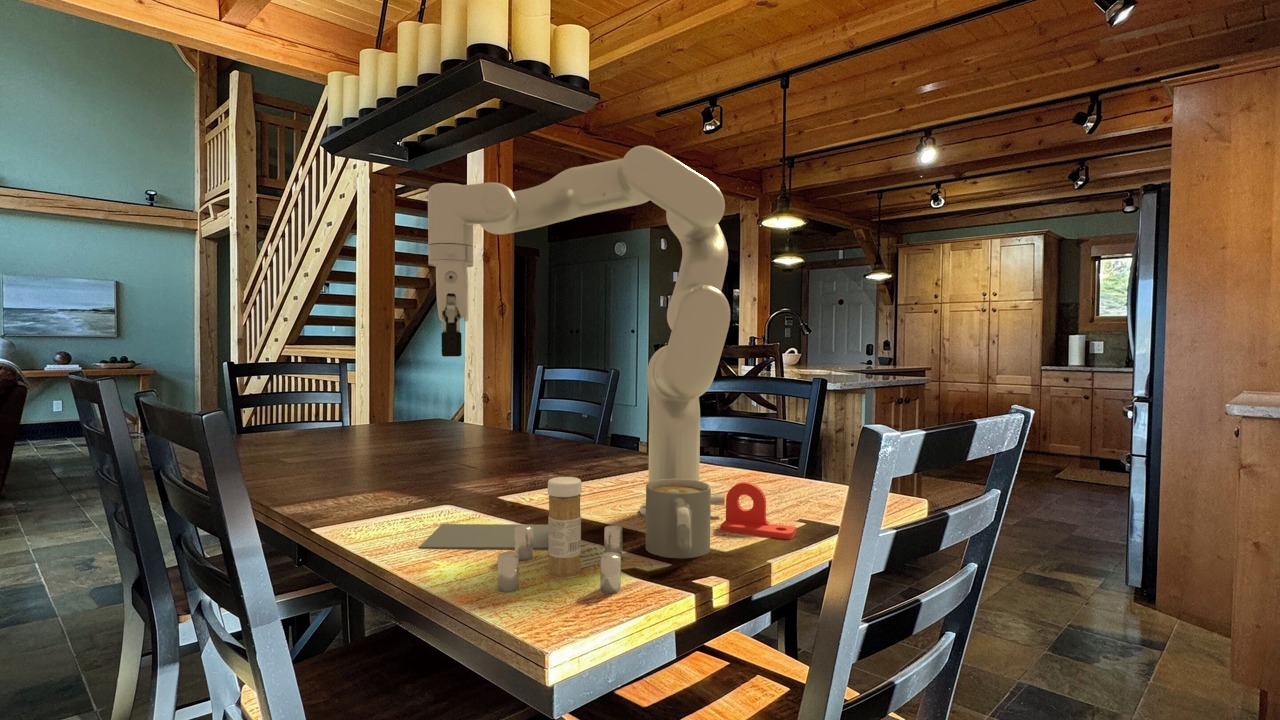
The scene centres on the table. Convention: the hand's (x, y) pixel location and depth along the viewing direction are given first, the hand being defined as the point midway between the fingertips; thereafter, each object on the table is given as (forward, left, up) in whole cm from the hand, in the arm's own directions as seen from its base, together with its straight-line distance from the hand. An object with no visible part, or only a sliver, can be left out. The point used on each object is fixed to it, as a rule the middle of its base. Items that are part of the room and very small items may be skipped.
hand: (452, 355), depth 114 cm
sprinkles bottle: (-22, +27, -30) cm, 46 cm away
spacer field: (-22, +27, -29) cm, 45 cm away
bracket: (-53, +5, -30) cm, 61 cm away
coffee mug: (-38, +17, -30) cm, 51 cm away
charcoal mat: (-9, +11, -29) cm, 33 cm away
